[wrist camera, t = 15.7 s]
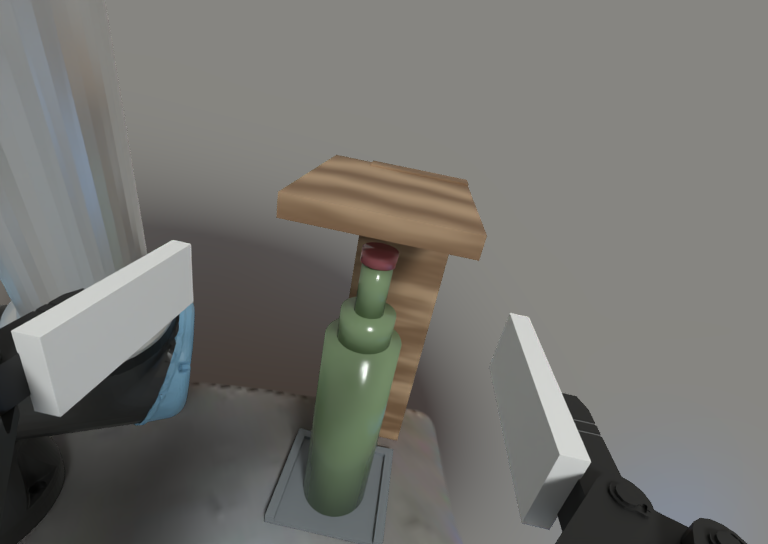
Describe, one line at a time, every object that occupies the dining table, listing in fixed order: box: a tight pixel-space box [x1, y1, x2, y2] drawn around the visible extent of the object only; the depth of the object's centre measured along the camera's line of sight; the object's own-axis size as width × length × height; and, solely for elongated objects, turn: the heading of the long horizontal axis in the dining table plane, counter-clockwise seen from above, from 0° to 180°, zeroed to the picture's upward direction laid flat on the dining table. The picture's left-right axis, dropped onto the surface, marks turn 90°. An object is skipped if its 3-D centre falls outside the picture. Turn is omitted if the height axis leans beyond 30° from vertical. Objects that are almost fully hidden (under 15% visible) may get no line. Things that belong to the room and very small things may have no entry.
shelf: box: [277, 155, 487, 440], centre depth 41 cm, size 17×14×37 cm
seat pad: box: [264, 428, 393, 544], centre depth 47 cm, size 12×13×1 cm
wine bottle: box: [304, 242, 402, 517], centre depth 40 cm, size 7×7×31 cm
